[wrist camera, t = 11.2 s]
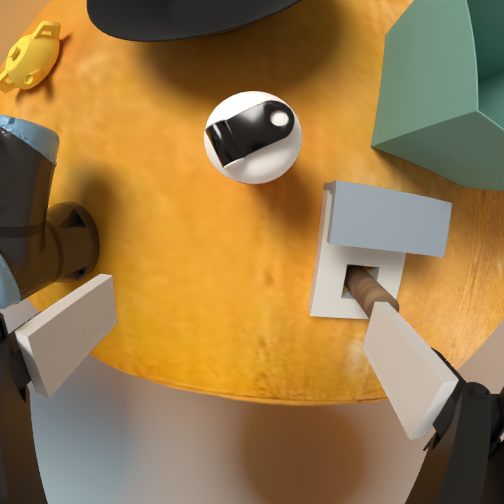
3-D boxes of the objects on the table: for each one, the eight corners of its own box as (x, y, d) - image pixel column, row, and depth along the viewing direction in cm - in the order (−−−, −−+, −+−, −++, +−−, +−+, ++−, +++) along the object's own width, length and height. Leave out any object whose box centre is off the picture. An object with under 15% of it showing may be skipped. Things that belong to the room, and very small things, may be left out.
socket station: (301, 306, 45) (311, 346, 33) (317, 182, 40) (336, 180, 28) (388, 311, 44) (418, 346, 32) (409, 197, 40) (452, 202, 28)
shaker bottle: (301, 165, 40) (327, 146, 21) (251, 197, 42) (234, 205, 22) (267, 117, 39) (265, 63, 19) (218, 149, 40) (176, 119, 21)
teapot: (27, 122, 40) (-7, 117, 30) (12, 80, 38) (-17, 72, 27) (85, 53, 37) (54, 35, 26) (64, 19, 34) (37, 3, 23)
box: (464, 187, 38) (574, 201, 13) (370, 146, 39) (476, 111, 13) (472, 82, 33) (558, 49, 8) (385, 35, 33) (451, -45, 8)
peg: (344, 263, 43) (373, 295, 29) (367, 265, 43) (402, 297, 29) (340, 286, 44) (365, 326, 30) (362, 288, 44) (394, 327, 30)
